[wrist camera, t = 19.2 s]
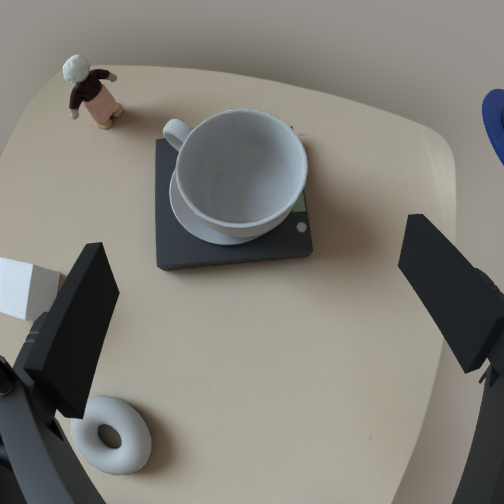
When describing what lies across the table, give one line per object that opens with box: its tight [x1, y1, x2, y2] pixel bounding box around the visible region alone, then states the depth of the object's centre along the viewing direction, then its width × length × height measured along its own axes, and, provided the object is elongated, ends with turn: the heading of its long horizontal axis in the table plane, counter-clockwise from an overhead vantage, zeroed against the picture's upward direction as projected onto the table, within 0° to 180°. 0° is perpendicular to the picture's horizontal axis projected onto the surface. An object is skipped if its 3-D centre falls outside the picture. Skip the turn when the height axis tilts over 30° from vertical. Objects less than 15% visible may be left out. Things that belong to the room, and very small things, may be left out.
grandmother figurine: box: [63, 55, 123, 129], centre depth 33 cm, size 8×4×13 cm, turn 157°
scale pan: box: [169, 168, 267, 246], centre depth 34 cm, size 12×12×1 cm
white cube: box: [0, 258, 60, 320], centre depth 31 cm, size 6×6×6 cm
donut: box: [70, 395, 151, 475], centre depth 29 cm, size 10×4×10 cm
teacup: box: [163, 108, 308, 238], centre depth 29 cm, size 14×11×8 cm
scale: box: [155, 127, 313, 270], centre depth 35 cm, size 16×15×3 cm
